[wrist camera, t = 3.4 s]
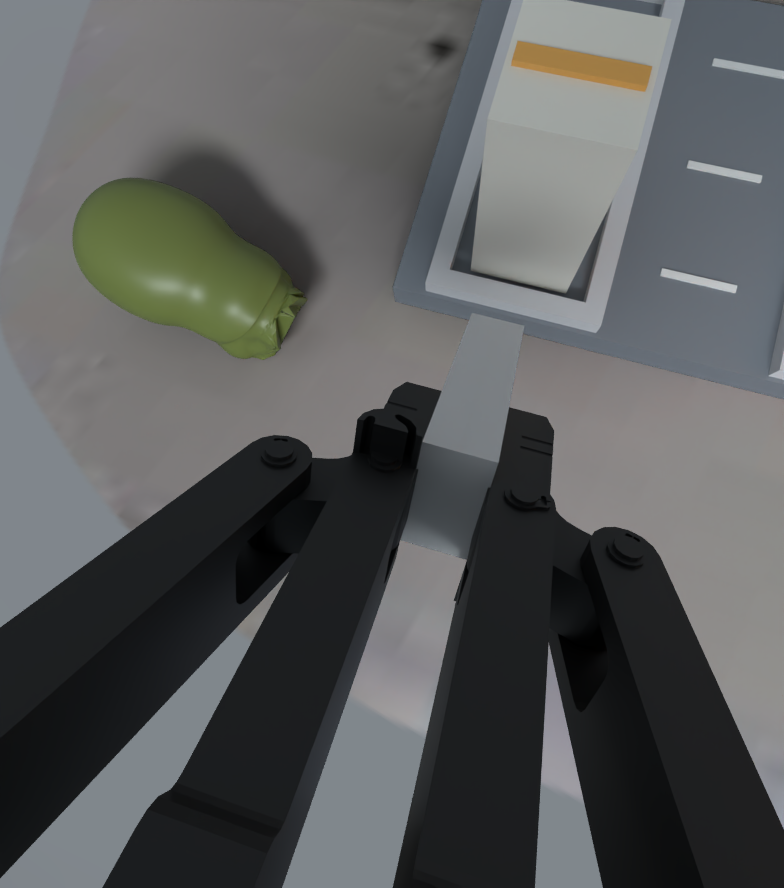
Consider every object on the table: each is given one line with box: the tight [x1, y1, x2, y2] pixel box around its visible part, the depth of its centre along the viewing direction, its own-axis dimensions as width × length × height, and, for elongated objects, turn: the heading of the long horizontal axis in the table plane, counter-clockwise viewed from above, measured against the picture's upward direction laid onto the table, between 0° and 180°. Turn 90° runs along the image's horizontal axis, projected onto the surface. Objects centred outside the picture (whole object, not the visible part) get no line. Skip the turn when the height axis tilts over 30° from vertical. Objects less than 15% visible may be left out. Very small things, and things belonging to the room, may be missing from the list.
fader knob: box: [471, 0, 672, 294], centre depth 20 cm, size 4×4×9 cm
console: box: [393, 0, 784, 399], centre depth 25 cm, size 24×17×2 cm
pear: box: [73, 178, 307, 360], centre depth 25 cm, size 6×5×10 cm
